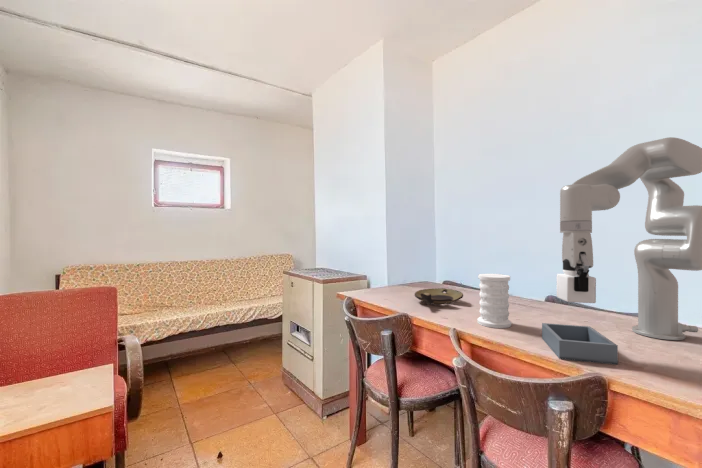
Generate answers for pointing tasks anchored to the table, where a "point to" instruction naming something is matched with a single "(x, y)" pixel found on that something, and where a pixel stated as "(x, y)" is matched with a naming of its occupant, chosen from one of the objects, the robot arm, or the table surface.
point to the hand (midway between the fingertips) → (575, 288)
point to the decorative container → (494, 301)
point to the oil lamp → (438, 296)
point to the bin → (579, 343)
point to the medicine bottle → (567, 286)
